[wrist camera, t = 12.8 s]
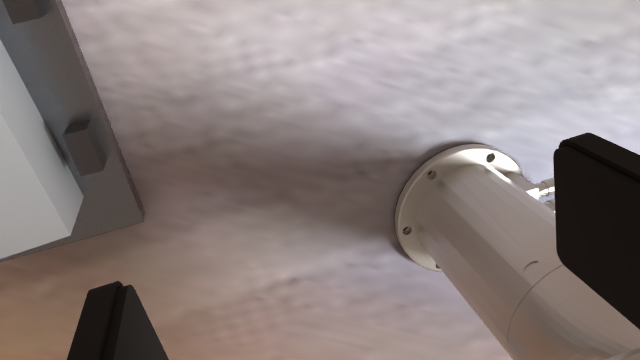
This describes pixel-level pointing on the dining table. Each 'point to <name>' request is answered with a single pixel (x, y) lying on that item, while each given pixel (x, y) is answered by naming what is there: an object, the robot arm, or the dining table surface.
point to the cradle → (70, 115)
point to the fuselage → (30, 172)
